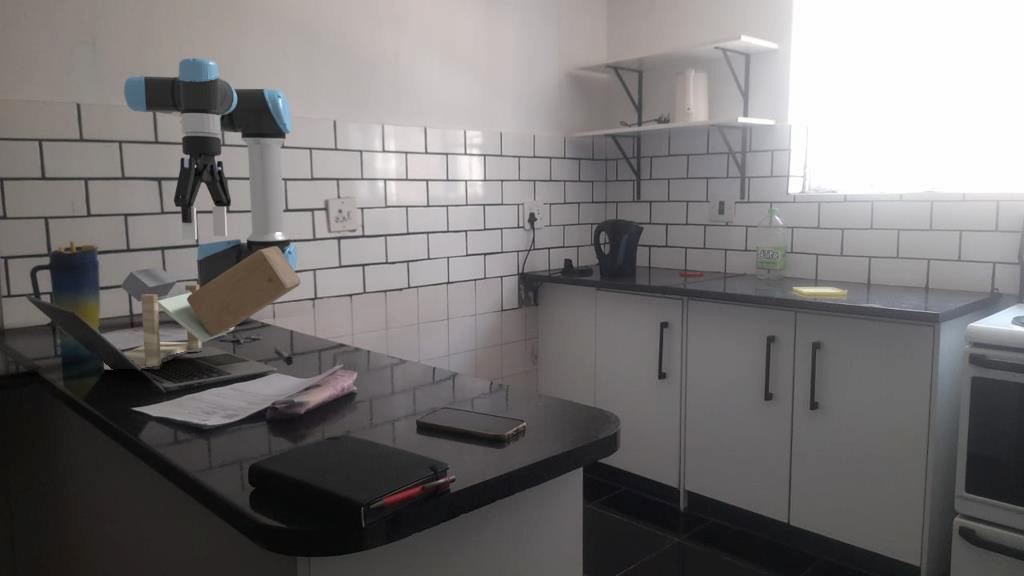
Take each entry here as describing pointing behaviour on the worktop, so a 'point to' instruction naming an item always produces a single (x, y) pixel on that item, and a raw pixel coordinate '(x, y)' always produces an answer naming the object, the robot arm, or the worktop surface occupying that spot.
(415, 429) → the worktop surface
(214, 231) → the robot arm
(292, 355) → the worktop surface
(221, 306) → the wooden block
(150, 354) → the trapdoor frame
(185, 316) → the trapdoor
